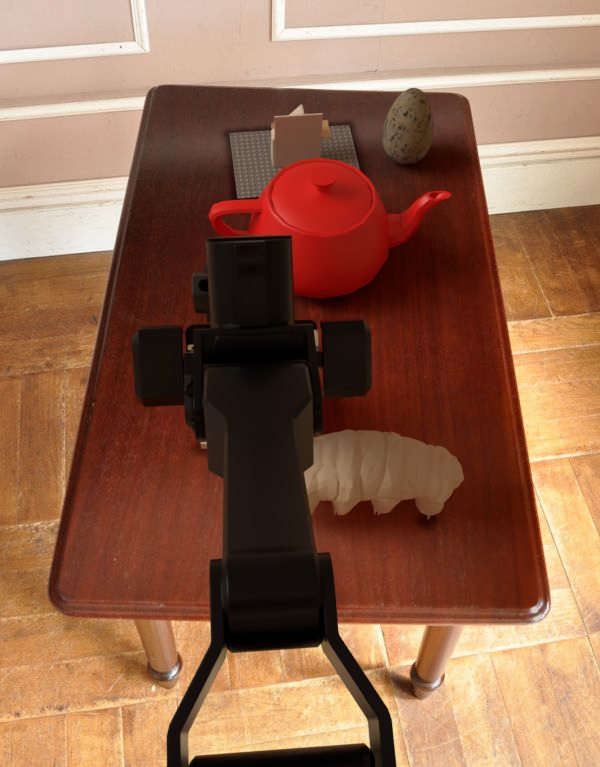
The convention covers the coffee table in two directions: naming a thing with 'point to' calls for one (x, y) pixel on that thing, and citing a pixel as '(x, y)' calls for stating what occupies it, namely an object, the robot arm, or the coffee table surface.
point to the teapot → (327, 224)
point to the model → (380, 472)
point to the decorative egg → (408, 128)
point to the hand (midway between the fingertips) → (251, 345)
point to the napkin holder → (286, 149)
